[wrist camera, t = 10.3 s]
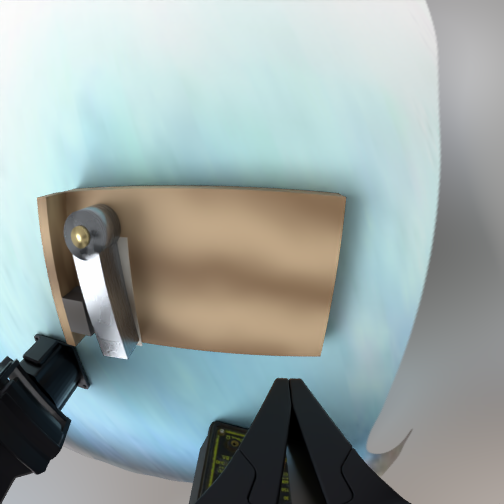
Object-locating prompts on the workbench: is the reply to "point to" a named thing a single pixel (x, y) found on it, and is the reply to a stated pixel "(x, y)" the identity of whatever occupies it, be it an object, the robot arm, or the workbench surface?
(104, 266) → the bar
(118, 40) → the workbench surface
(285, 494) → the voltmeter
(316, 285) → the door board
